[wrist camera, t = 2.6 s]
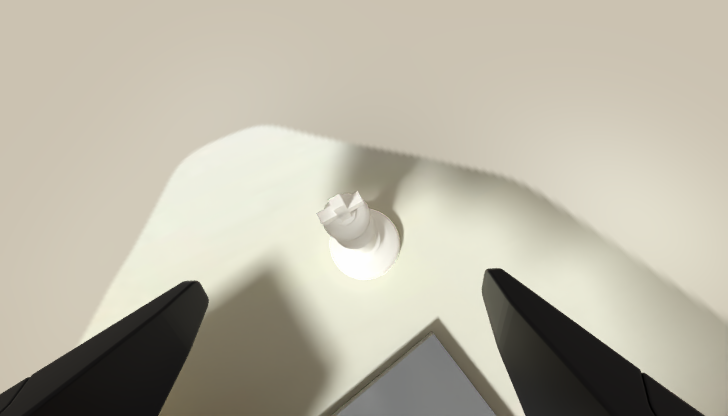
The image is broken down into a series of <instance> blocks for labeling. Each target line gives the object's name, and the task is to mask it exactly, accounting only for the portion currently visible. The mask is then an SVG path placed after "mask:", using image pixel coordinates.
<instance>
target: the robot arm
mask: <svg viewBox="0 0 728 416" xmlns="http://www.w3.org/2000/svg"><path fill="white" fill-rule="evenodd" d="M482 296H483V300H484V303H485V306H486V310H487V313H488V317H489V320H490V324H491V327H492V330H493V334H494V337H495V340H496V344H497V347H498V349H499V352H500V355H501V357H502V360H503V362H504V365H505V367H506V369H507V372H508V374H509V377H510V379H511V382H512V384H513V386H514V389H515V391H516V394H517V396H518V399H519V401H520V403H521V406H522V408H523V411H524V413H525V415H526V416H704V415H703V414H702V413H700V412H699V411H697V410H696V409H695V408H693V407H692V406H690V405H689V404H687V403H686V402H685V401H683V400H682V399H680V398H679V397H678V396H676V395H675V394H673V393H672V392H671V391H669V390H668V389H666V388H665V387H664V386H662V385H661V384H659V383H658V382H657V381H655V380H654V379H653V378H651V377H650V376H648V375H647V374H646V373H641V371H640V369H639V368H637V367H636V366H634V365H633V364H632V363H630V362H629V361H628V360H626V359H625V358H624V357H622V356H621V355H619V354H618V353H617V352H615V351H614V350H613V349H611V348H610V347H608V346H607V345H606V344H604V343H603V342H602V341H600V340H599V339H597V338H596V337H595V336H593V335H592V334H591V333H589V332H588V331H586V330H585V329H584V328H582V327H581V326H580V325H578V324H577V323H575V322H574V321H573V320H571V319H570V318H569V317H567V316H566V315H564V314H563V313H562V312H560V311H559V310H558V309H556V308H555V307H553V306H552V305H551V304H549V303H548V302H547V301H545V300H544V299H542V298H541V297H540V296H538V295H537V294H536V293H534V292H533V291H532V290H530V289H529V288H527V287H526V286H525V285H523V284H522V283H521V282H519V281H518V280H516V279H515V278H514V277H512V276H511V275H510V274H508V273H507V272H505V271H504V270H502V269H500V268H493V269H487V270H486V271H485V274H484V279H483V285H482ZM208 303H209V299H208V296H207V294H206V293H205V291H204V289H203V287H202V285H201V284H200V282H198V281H184V282H182V283H180V284H178V285H177V286H175V287H174V288H172V289H170V290H169V291H167V292H165V293H164V294H162V295H161V296H159V297H157V298H156V299H154V300H152V301H151V302H149V303H148V304H146V305H144V306H143V307H141V308H139V309H138V310H136V311H135V312H133V313H131V314H130V315H128V316H127V317H125V318H123V319H122V320H120V321H118V322H117V323H115V324H114V325H112V326H110V327H109V328H107V329H105V330H104V331H102V332H101V333H99V334H97V335H96V336H94V337H92V338H91V339H89V340H88V341H86V342H84V343H83V344H81V345H80V346H78V347H76V348H75V349H73V350H71V351H70V352H68V353H67V354H65V355H63V356H62V357H60V358H58V359H57V360H55V361H54V362H52V363H50V364H49V365H47V366H45V367H44V368H42V369H41V370H39V371H37V372H36V373H34V374H33V375H32V376H31V377H28V378H26V379H24V380H23V381H21V382H19V383H18V384H16V385H15V386H13V387H12V388H10V389H8V390H7V391H5V392H3V393H2V394H0V416H158V415H159V413H160V411H161V409H162V407H163V405H164V403H165V401H166V399H167V397H168V395H169V393H170V391H171V389H172V387H173V385H174V383H175V381H176V379H177V377H178V375H179V373H180V371H181V369H182V367H183V365H184V363H185V361H186V359H187V356H188V354H189V352H190V350H191V347H192V345H193V343H194V340H195V337H196V335H197V332H198V330H199V327H200V325H201V322H202V320H203V317H204V315H205V312H206V309H207V307H208Z"/></svg>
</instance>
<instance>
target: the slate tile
mask: <svg viewBox="0 0 728 416" xmlns="http://www.w3.org/2000/svg"><path fill="white" fill-rule="evenodd" d="M331 416H496V415H495V413H494V412H493V411H492V409H491V408H490V407H489V405H488V404H487V403H486V402H485V400H484V399H483V398H482V396H481V395H480V394H479V392H478V391H477V390H476V388H475V387H474V386H473V385H472V383H471V382H470V381H469V379H468V378H467V377H466V375H465V374H464V373H463V371H462V370H461V369H460V367H459V366H458V365H457V364H456V362H455V361H454V360H453V358H452V357H451V356H450V354H449V353H448V352H447V350H446V349H445V348H444V346H443V345H442V344H441V343H440V341H439V340H438V339H437V337H436V336H435V335H434V333H433V332H431V333H429V334H428V335H427V336H426V337H425V338H423V339H422V340H421V341H420V342H419V343H417V344H416V345H415V346H414V347H413V348H411V349H410V350H409V351H408V352H407V353H405V354H404V355H403V356H402V357H401V358H399V359H398V360H397V361H396V362H395V363H393V364H392V365H391V366H390V367H389V368H387V369H386V370H385V371H384V372H383V373H381V374H380V375H379V376H378V377H377V378H375V379H374V380H373V381H372V382H371V383H369V384H368V385H367V386H366V387H365V388H363V389H362V390H361V391H360V392H359V393H357V394H356V395H355V396H354V397H353V398H351V399H350V400H349V401H348V402H347V403H345V404H344V405H343V406H342V407H341V408H339V409H338V410H337V411H336V412H335V413H333V414H332V415H331Z"/></svg>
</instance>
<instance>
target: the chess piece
mask: <svg viewBox="0 0 728 416" xmlns="http://www.w3.org/2000/svg"><path fill="white" fill-rule="evenodd" d="M328 201H329V202H328V203H327V204H326V206H325V208H324V209H323V210H321V211H320V212H318V213H316V214H317V216H318V218H319V220H320V222H321V224H323V225H324V228H325V230H326V231H327V233H328V234H329V235H330V241H329V246H330V253H331V256H332V258H333V260H334V262H335V264H336V265H337V267H338V268H339V269H340V270H341V271H342V272H343V273H345V274H346V275H348V276H350V277H352V278H355V279H360V280H370V279H375V278H378V277H380V276H382V275H384V274H385V273H386V272H388V271H389V270H390V269H391V268H392V266H393V265H394V264H395V262H396V260H397V258H398V255H399V252H400V237H399V233H398V230H397V228H396V226H395V225H394V223H393V222H392V221H391V220H390V219H389V218H388V217H387V216H386V215H385V214H383V213H381V212H379V211H377V210H374V209H369V207H368V205H367V203H366V202H365V201H364V200H363V199H362V198H361V196H360V195H359V193H358V191H356V192H355V193H353V194H351V193H344V194H337V195H335V196H334V197H332V198H330V199H328Z"/></svg>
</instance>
